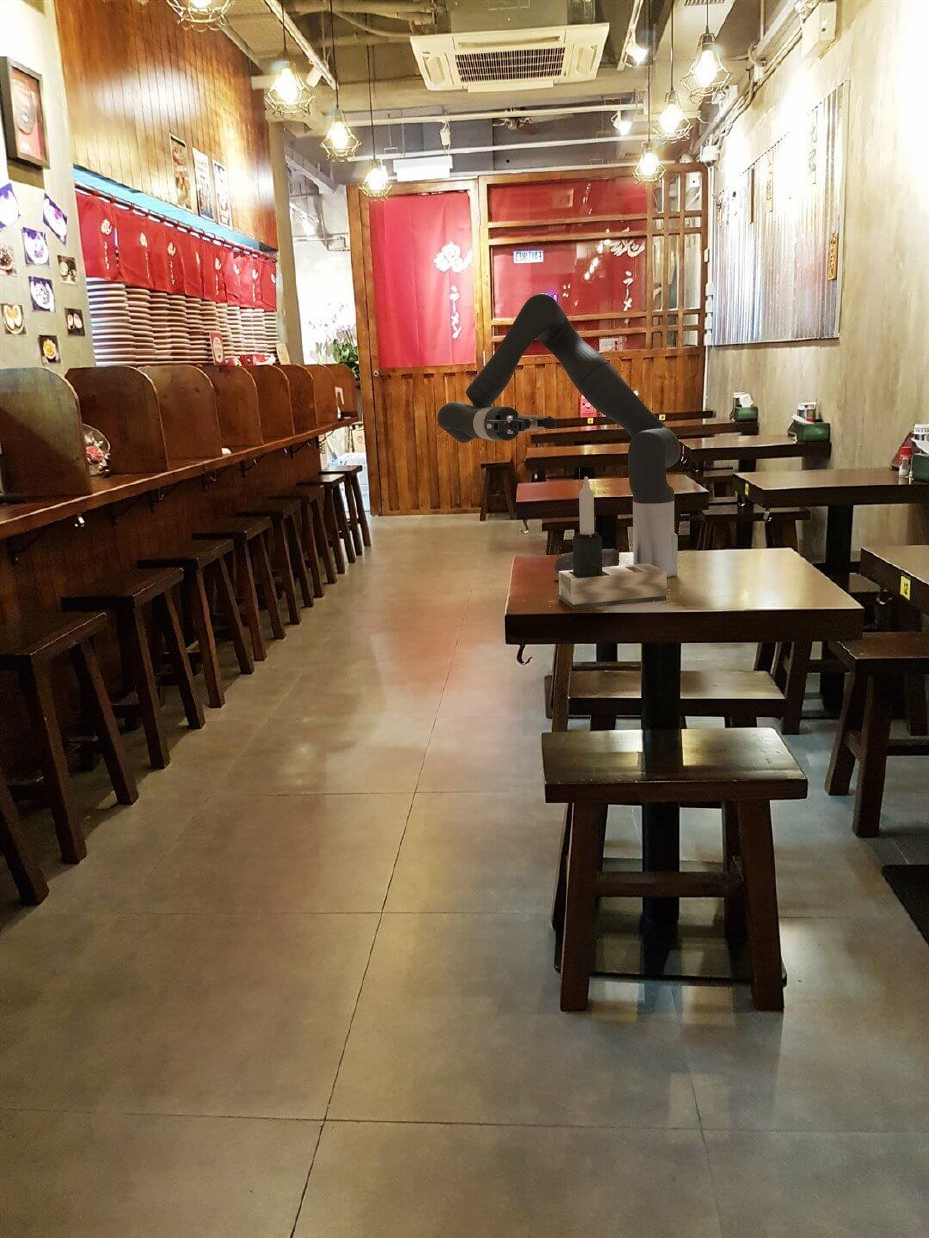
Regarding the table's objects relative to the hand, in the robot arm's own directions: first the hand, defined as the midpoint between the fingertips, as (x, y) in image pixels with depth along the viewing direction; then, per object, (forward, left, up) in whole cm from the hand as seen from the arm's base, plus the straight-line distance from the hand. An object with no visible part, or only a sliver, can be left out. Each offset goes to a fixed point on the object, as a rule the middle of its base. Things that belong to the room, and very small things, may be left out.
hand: (539, 424), depth 206 cm
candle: (-5, +15, -35) cm, 39 cm away
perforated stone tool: (-12, -7, -36) cm, 39 cm away
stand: (-10, +15, -36) cm, 40 cm away
